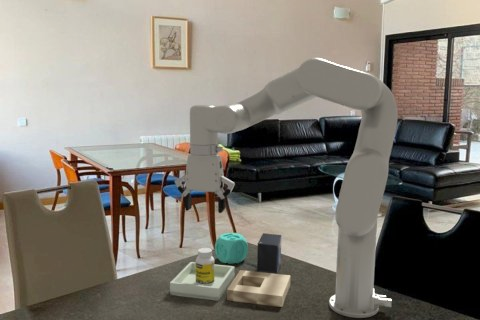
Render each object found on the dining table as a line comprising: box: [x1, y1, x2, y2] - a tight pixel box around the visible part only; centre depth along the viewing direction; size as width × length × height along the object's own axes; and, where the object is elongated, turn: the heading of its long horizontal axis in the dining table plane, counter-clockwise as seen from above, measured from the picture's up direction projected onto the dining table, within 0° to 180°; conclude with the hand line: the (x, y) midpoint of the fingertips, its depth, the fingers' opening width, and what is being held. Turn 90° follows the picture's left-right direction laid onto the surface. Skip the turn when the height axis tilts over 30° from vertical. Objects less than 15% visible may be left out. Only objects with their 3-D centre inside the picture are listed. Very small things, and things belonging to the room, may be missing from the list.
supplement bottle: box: [195, 247, 215, 286], centre depth 135 cm, size 5×5×10 cm
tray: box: [169, 261, 236, 302], centre depth 136 cm, size 14×16×4 cm
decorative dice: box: [214, 232, 249, 265], centre depth 156 cm, size 8×8×8 cm
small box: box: [256, 232, 282, 274], centre depth 146 cm, size 11×6×10 cm, turn 168°
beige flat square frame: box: [226, 269, 291, 308], centre depth 132 cm, size 15×14×3 cm
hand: (204, 210), depth 132 cm, fingers open, 9 cm apart
